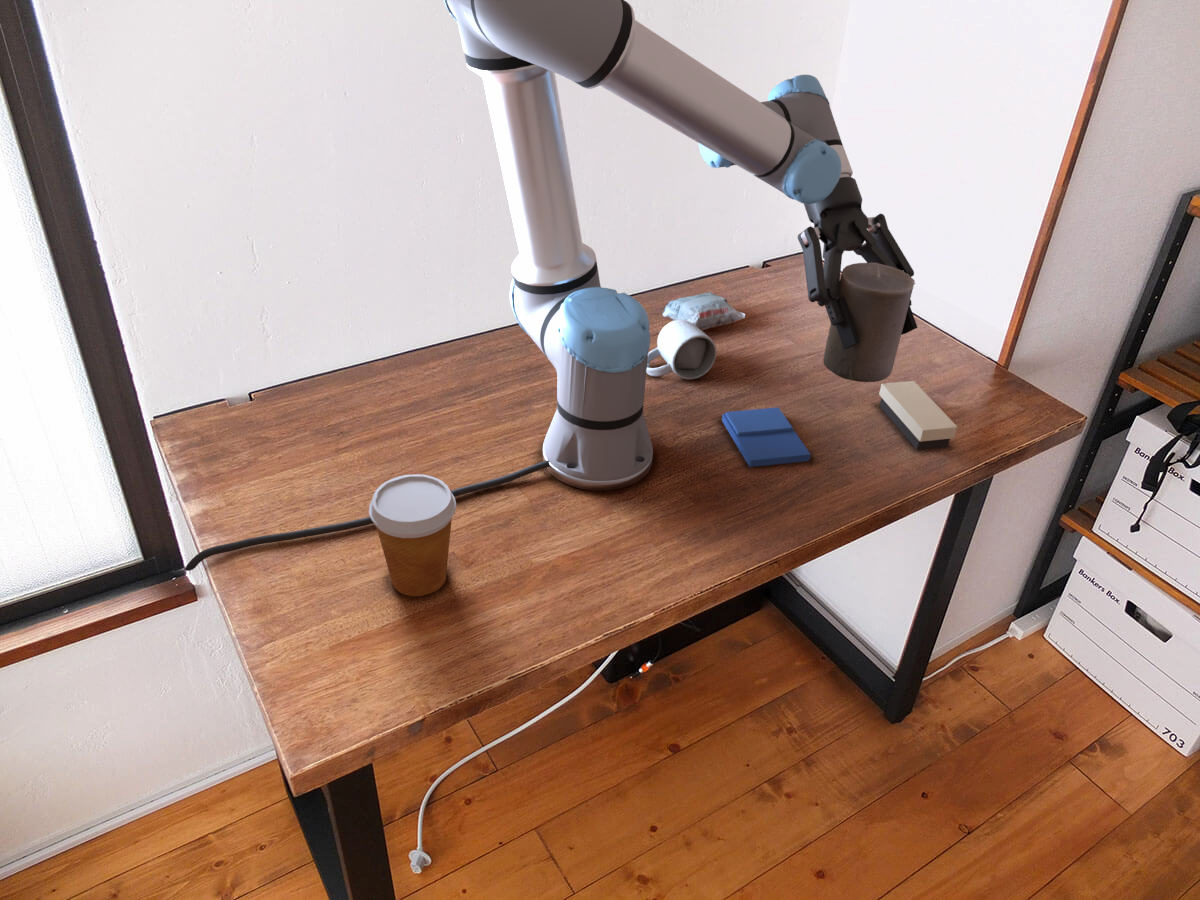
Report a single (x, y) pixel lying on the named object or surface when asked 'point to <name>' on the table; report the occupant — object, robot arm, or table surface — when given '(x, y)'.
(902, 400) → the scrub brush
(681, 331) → the ceramic mug
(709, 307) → the packaged food
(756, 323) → the table surface
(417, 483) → the disposable coffee cup
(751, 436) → the blue dish cloth
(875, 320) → the pillar candle
